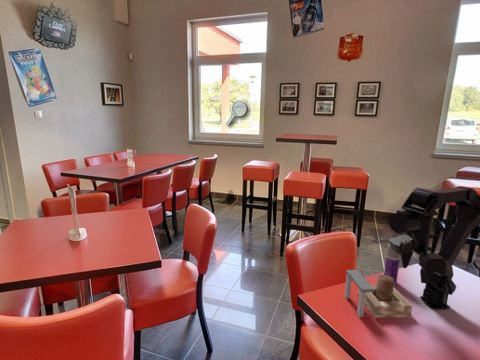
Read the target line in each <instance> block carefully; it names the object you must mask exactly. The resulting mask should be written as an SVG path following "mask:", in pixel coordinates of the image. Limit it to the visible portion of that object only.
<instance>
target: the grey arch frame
mask: <svg viewBox="0 0 480 360" xmlns="http://www.w3.org/2000/svg"><path fill="white" fill-rule="evenodd" d="M345 273H346V277H345V288H344V297H345V299H348V300H349V299H351V291H352V282H353V283H354V284H355V286H356V287H357V289H358V288H359V289H360V290H359V297H358V301H357V309H356V316H357V317H358V318H364V312H365V296H366V292H374V291H375V289H374V288H373V287H372V286H371V285H372V284H371V283H370V282H369V281H368V280H367V279H366V278H365V276H363V274H361V272H360V271H359V270H358V269H346V271H345Z"/></svg>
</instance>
